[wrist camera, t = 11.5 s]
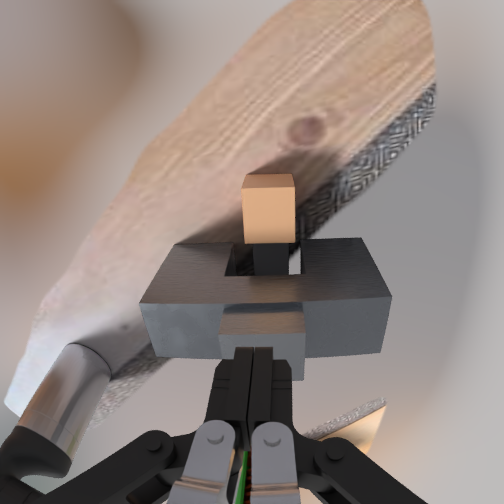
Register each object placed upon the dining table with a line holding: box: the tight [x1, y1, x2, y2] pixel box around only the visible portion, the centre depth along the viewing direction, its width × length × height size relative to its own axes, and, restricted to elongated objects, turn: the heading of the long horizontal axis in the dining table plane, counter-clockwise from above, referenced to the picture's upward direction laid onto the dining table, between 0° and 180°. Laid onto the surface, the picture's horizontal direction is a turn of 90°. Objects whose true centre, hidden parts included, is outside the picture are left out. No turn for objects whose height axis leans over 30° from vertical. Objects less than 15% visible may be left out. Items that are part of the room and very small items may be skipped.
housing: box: [139, 238, 392, 381], centre depth 29 cm, size 6×20×14 cm, turn 94°
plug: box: [241, 174, 295, 276], centre depth 32 cm, size 17×4×5 cm, turn 3°
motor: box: [235, 447, 252, 504], centre depth 45 cm, size 10×9×20 cm
